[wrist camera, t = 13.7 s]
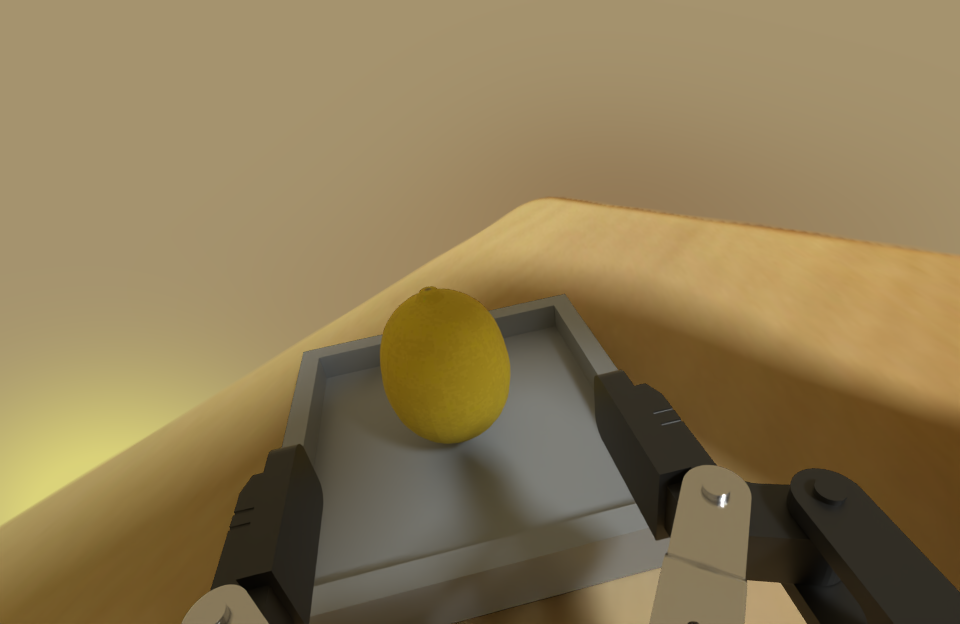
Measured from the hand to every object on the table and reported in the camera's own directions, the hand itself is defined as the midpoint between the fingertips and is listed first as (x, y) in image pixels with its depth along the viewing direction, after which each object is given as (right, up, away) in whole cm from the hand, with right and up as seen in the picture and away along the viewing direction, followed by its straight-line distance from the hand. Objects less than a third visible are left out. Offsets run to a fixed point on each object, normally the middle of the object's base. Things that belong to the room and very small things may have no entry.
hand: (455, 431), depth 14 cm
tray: (0, -3, +11) cm, 11 cm away
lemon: (0, -3, +10) cm, 11 cm away
